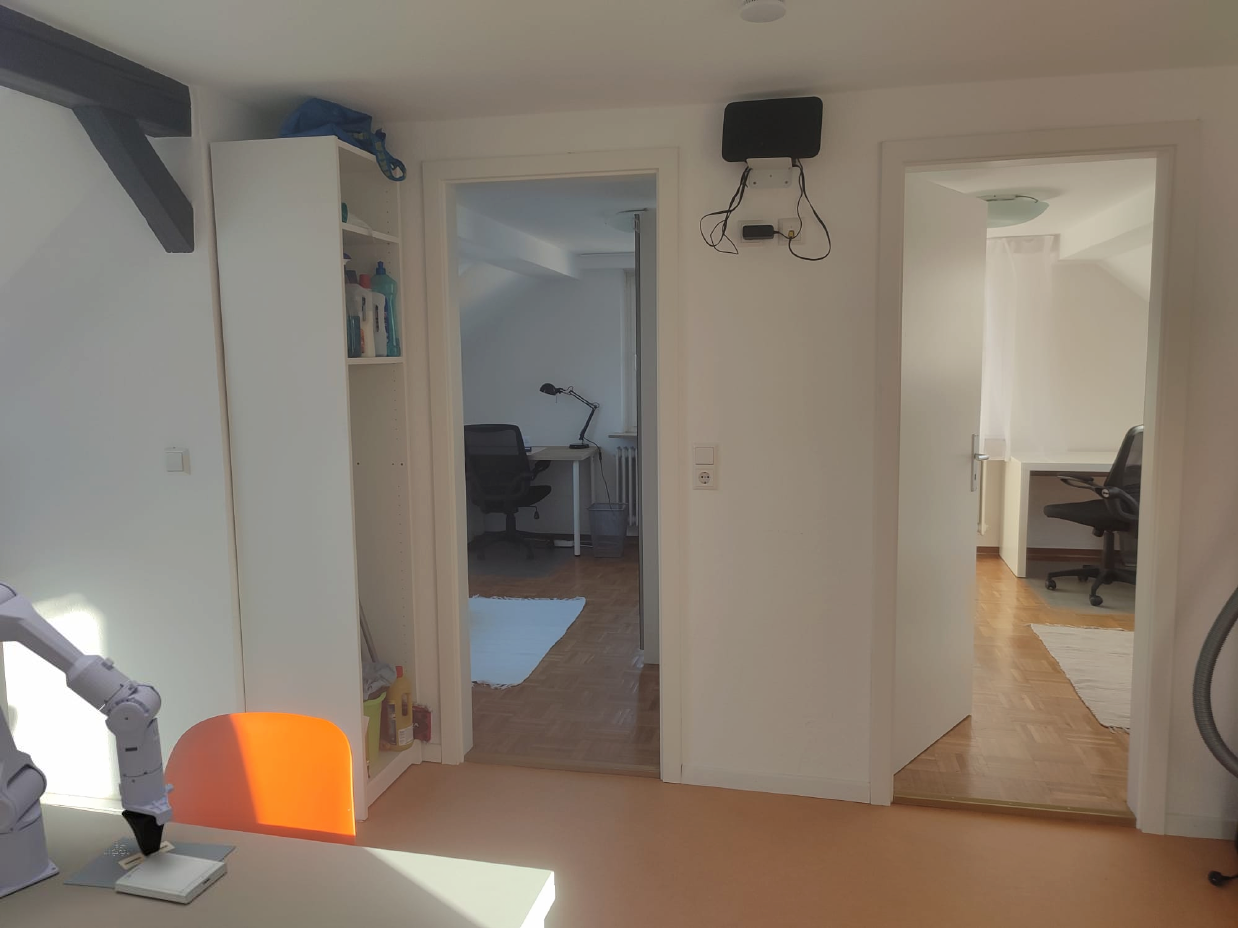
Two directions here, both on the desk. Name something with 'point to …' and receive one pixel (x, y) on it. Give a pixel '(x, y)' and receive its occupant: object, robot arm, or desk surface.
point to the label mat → (138, 860)
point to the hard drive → (171, 877)
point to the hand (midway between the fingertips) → (150, 851)
